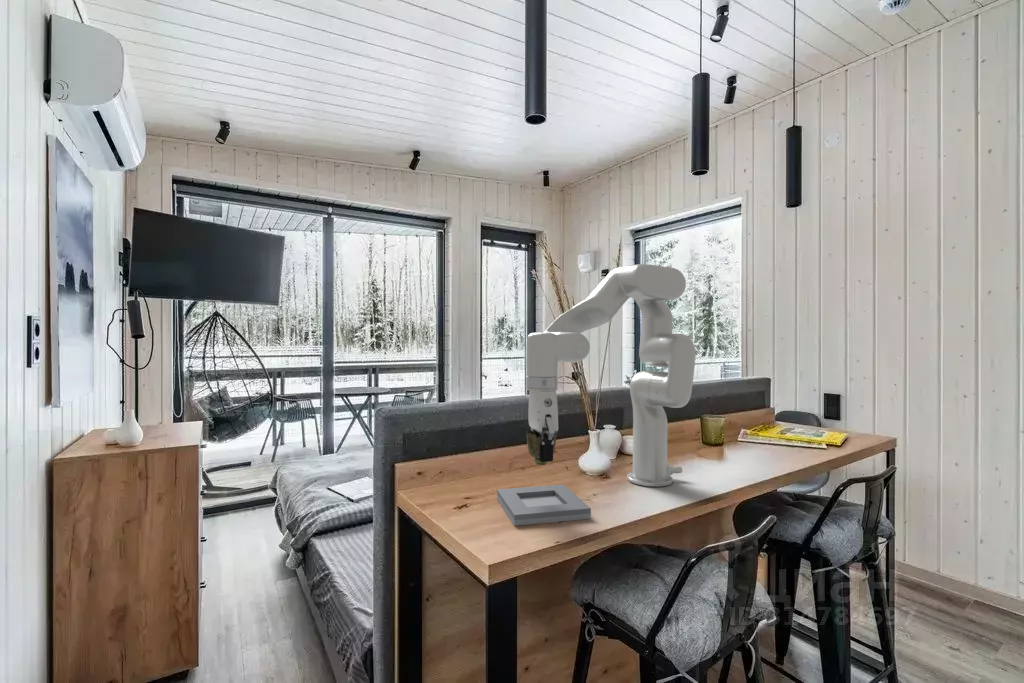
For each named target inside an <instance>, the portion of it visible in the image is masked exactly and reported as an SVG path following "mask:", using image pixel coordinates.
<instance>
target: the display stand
mask: <svg viewBox="0 0 1024 683" xmlns="http://www.w3.org/2000/svg"><path fill="white" fill-rule="evenodd" d="M496 499H497V501H498V503H499V504H500V506H501V507H502V509H503V510H504V512H505V513H506V515H507V516H508V518H509V520H510V521H511V523H512V525H513V526H514V527H516V526H517V527H518V526H527V525H538V524H549V523H550V524H551V523H559V522H560V523H561V522H570V521H579V520H591V518H592V517H591V516H592V514H591V513H592V512H591V511H592V507H590V506H589V505H588V504H586V502H585V501H583V500H582V499H581V498H580V497H579V496H578V495H577V494H575V493H574V492H573V491H572V490H571V489H569V488H568V487H567V486H566V485H565V484H551V485H539V486H538V485H537V486H527V487H526V486H524V487H513V488H498V489H496Z"/></svg>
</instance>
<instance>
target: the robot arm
mask: <svg viewBox="0 0 1024 683" xmlns="http://www.w3.org/2000/svg"><path fill="white" fill-rule="evenodd" d="M685 277H686V276H685V275H684V274H683V273H682V271H681V270H679V269H677V268H674V267H669V266H661V265H656V264H655V265H654V264H648V263H639V264H632V265H624V266H619V267H615V268H613V269H612V270H610V271H609V273H607V275H606V276H605V277H604V278H603V279H602V280H601V281H600V282H599V283H598V285H597V286H596V287H595V288H594V289H593V291H592V292H590V294H589V295H588V296H587V297H586V298H585V299H584V300H582V301H581V302H579V303H576V304H575V305H574V306H573V307H571V308H570V309H568V310H567V311H566V310H565V312H563V313H562V314H560V315H559V316H558V317H557V318H555V319H554V321H552V322H551V323H550V324H549V326H547V327H546V329H545V330H544V332H531V333H529V334H528V335H527V336H526V383H525V384H526V385H525V386H526V390H527V391H528V392H529V393H528V408H527V410H528V411H527V412H528V413H527V414H528V417H527V419H528V425H529V426H528V427H530V429H531V430H532V432H533V431H534V430H536V431H537V432H539V433H540V439H541V444H540V448H539V460H540V462H548V463H549V462H554V453H553V444H554V441H553V439H554V433H555V432H557V433H558V432H559V409H558V408H559V406H558V395H557V391H558V385H559V384H558V383H559V381H558V380H559V379H558V378H559V377H558V376H559V375H558V372H559V368H558V366H559V362H562V363H577V362H578V363H579V362H581V361H583V360H585V358H586V357H588V355H589V353H590V351H591V348H590V347H591V346H590V342H589V339H588V338H587V337H586V336H585V335H584V334H582V333H584V332H586V331H589V330H592V329H595V328H598V327H600V326H603V325H605V324H607V323H609V322H610V321H611V320H612V319H613V318H614V317H615V315H616V314H617V313H618V312H619V311H620V309H621V308H622V307H623V306H624V304H626V302H627V301H628V300H629V299H630V298H632V299H633V300H634V301H635V303H636V305H637V306H638V308H639V311H640V314H641V330H640V331H641V332H640V338H639V339H640V341H639V350H638V353H639V355H638V356H639V360H640V362H641V363H642V364H644V365H647V366H650V367H657V368H658V367H659V368H660V367H661V368H667V371H660V370H659V371H658V370H641V371H637V372H636V373H634V375H632V377H631V380H630V382H629V393H630V398H631V399H630V400H631V406H632V471H630V472H627V475H626V479H627V480H628V481H629V482H631V483H633V484H635V485H638V486H639V485H640V486H643V487H644V486H645V487H650V488H651V487H656V488H657V487H659V488H660V487H667V486H670V485H672V483H673V477H672V475H673V474H682V473H683V467H682V466H681V465H679V466H673V464H672V465H671V464H670V465H669V464H668V418H667V414H666V411H665V409H664V407H667V408H673V409H675V408H676V409H678V408H680V409H681V408H684V407H685V406H686V405H687V404H688V403H689V401H690V399H691V396H692V392H693V391H692V390H693V384H694V375H695V366H696V365H695V364H696V348H695V344H694V341H693V340H692V339H691V338H690V337H689V336H688V335H687V334H683V333H673V313H672V311H671V309H670V308H671V307H669V305H668V304H667V303H666V301H671V300H676V299H679V298H680V297H681V296H682V295H683V294H684V293H685V290H686V286H687V281H686V278H685ZM546 430H547V431H546ZM544 435H545V438H544Z"/></svg>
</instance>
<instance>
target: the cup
mask: <svg viewBox="0 0 1024 683" xmlns="http://www.w3.org/2000/svg"><path fill="white" fill-rule="evenodd" d="M545 431H547V429H546V430H545ZM525 433H526V434H525V435H526V442H527V443H526V445H527V449H528V453H529V455H530V456H531V457H533V463H534V464H535V465H537V466H547V465H548V464H549V462H540V460H539V448H540V444H541V439H540V433H539V432H537V431H536V430H534V431H533V432H532V430H531V429H530V430H528V429H527V430H526V432H525ZM557 436H558V431H557V432H555V433H554V439H553V441H554V444H553V454H554V453H555V450H556V444H557ZM544 438H545V435H544Z"/></svg>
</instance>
